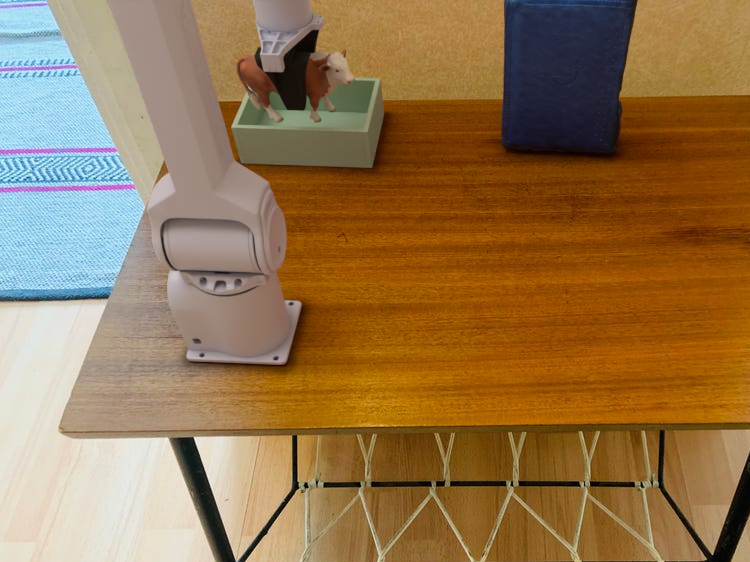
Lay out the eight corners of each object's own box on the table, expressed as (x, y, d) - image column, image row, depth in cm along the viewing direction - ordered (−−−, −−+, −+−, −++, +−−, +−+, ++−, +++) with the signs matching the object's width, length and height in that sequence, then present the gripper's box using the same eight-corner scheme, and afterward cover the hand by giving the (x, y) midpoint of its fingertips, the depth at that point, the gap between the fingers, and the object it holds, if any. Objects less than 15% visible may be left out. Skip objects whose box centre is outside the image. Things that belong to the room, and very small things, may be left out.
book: (616, 135, 96) (644, -29, 80) (618, 162, 93) (647, -5, 77) (501, 130, 97) (505, -34, 81) (498, 156, 93) (503, -10, 78)
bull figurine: (358, 130, 88) (349, 63, 82) (243, 121, 89) (226, 54, 83) (366, 109, 91) (359, 42, 84) (255, 101, 92) (239, 34, 85)
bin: (241, 163, 92) (230, 127, 88) (262, 110, 99) (253, 74, 95) (372, 168, 92) (367, 131, 88) (384, 114, 99) (380, 78, 95)
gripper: (301, 12, 73) (324, 135, 83) (328, -56, 82) (345, 63, 92) (227, 9, 73) (259, 133, 84) (262, -57, 82) (287, 62, 93)
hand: (300, 96), depth 88 cm, fingers closed on bull figurine, 4 cm apart
